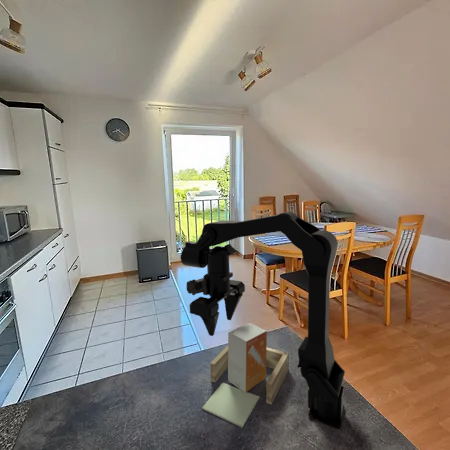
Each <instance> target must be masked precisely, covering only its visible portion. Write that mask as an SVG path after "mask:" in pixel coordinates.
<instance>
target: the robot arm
mask: <svg viewBox="0 0 450 450" xmlns="http://www.w3.org/2000/svg"><path fill="white" fill-rule="evenodd" d="M277 232H280V233H282V234H283V235H284V236H285V237H287V239H288V240H289V241H290V243H291V244H292V245H294V246H295V248H297V249H298V250H300V251H301V254H302V261H303V265H304V268H305V270H306V273H307V277H308V284H307V286H308V291H307V292H308V293H307V295H308V296H307V297H308V298H307V299H308V300H307V304H308V306H307V336H304V338H303V340H302V342H301V343H300V345H299V347H298V349H297V353H298V354H297V355H298V364H297V365H296V366H297V369H298V368H299V371H300V374H301V377H303V378H304V379H305V381H306V383H307V387H308V390H307V408H308V409H309V410H308V414H307V415H308V416H307V417H308V418H310V419H311V420H314V421H316V422H319V423H321V424H324V425H328V426H330V427H333V428H335V429H337V430H341V429H342V425H343V419H344V412H345V406H344V391H345V390H344V388H345V387H344V385H343V381H344V376H345V373H346V371H345V369H344V368H343V367H341V365H340V364H339V363H338V362H337V360H336V359H335V355H334V348H333V344H332V342H331V340H330V335H329V331H330V329H329V328H330V327H329V326H330V293H331V292H330V290H331V289H330V288H331V287H330V286H331V284H330V281H331V278H330V277H331V273H332V269H333V265H334V263H335V262H334V261H335V259H336V254H337V250H338V243H339V242H338V239H337V237H336V236H335V235H334V233H332V232H331V231H328V230H326V229H320V228H319V227H317V226H316V225H314V224H312V223H311V222H308V221H306V220H305V219H303V218H301V217H300V216H298V215H297V214H295V213H294V212H292V211H285V212H282V213H279V214H275V215H268V216H264V217H263V216H262V217H257V218H252V219H246V220H241V221H239V220H237V221H236V220H218V221H214V222H213V221H212V222H209V223H206V224H204V225H203V228H202V230H201V234H200V236H199V238H198V239H197V241H193V240H189V241H185V245H184V247H183V249H182V251H181V254H180V261H181V263H182V265H184V266H185V267H192V268H198V269H204V268H206V269H207V273H205V274H204V275H203V277H202V278H198V279H195V278H194V279H192V280H189V281H187V282H186V288H185V289H186V291H187V293H188V294H189V295H192V296H195V295H198V294H203V295H204V296H209V297H204V296H199V297H197V298H196V299H194V300H192V301H191V302H190V303H189V314H192V315H195V316H199V317H200V318H201V320H202V322H203V324H204V326H205V328H206V331H207V333H208V336H211V337H214V335H215V332H216V327H217V323H218V320H219V316H220V312H219V309H220V305H219V304H220V302H221V301H223V300H224V307H225V316H226V319H227V320H228V321H232V318H234V317H233V316H234V314H235V312H236V309H237V307H238V306H239V303H240V300H241V298H242V297H243V294H244V293H245V292H246V290H245V289H246V288H245V287H246V285H245V284H244V282H243V281H241V280H234V279H231V278H232V277H233V276H234V272H231V271H230V256H232V255H234V254H236V253H237V252H238V251H237V249H235V247H233V246H232V244H231V243H228V244H226V245H225V244H224V243H227V242H229V241H232V240H236V239H238V238H245V237H251V236H257V235H265V234H266V235H267V234H271V233H277ZM221 244H224V246H219V245H221ZM212 247H213V248H212Z"/></svg>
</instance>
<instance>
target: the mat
mask: <svg viewBox="0 0 450 450" xmlns="http://www.w3.org/2000/svg"><path fill="white" fill-rule="evenodd" d="M259 400H260V396H259V395H256V394H253V393H251V392H249V391H247V392H246V393H245V392H244V391H242V390H241V389H239V388H238V387H236V386H234V385H233V386H232V385H230V384H227V383H225V382H222V383H221V384H220V385H219V387H218V388H216V390H215V391H214V393H213V394H212V395H211V396H210V398H209V399H208V400H207V401H206V402H205V404H204V405H203V406H202V407H201V408H202V410H203V411H204V412H205V411H206V412H207V413H210V414H212V415H213V416H216V417H218V418H221V419H223V420H225V421H226V422H230V423H232V424H233V425H235V426H238V427H240V428H243V427H244V426H245V424H246V422H247V420H248V419H249V417H250V415H251V414H252V412H253V410H254V408H255V406H256V405H257V403H258V401H259Z"/></svg>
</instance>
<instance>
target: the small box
mask: <svg viewBox="0 0 450 450" xmlns="http://www.w3.org/2000/svg"><path fill="white" fill-rule="evenodd" d="M267 331H268V330H266V329H263V328H261V327H260V326H257V325H256V324H252V323H250V322H248V323H246V324H244V325H242V326H239V327H237V328H235V329H233V330H232V331H229V332H228V333H227V336H228V337H227V338H228V339H227V340H228V341H227V343H228V344H227V345H228V368H227V381H228V382H229V383H230V384H232V385H233V386H234V387H236V388H238V389H241V390H242V391H244V392H245V393H246V392H249V391H250V390H251V389H252V388H254V387H255V386H257V385H258V384H260V383H261V382H262V381H264V380H265V379H266V377H267V367H266V347H268V346H267V344H268V343H267V340H268V338H267V337H268V332H267Z"/></svg>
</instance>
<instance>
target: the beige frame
mask: <svg viewBox="0 0 450 450" xmlns="http://www.w3.org/2000/svg"><path fill="white" fill-rule="evenodd" d="M289 355H290V353H289V352H286V351H281V350H278V349H274V348H271V347H268V346H266V368H270V369H272V370H273V371H272V373H271V374H270V376H269V378H268V379H267V381H266V385H265V386H266V396H265V397H266V404H269V405H271V406H272V405H273V403H274V400H275V399H276V397H277V394H278V393H279V390H281V389H280V388H281V386H282V385H283V382H284V381H285V379H286V377H287V375H288V373H289V372H290V371H289V366H290V365H289V364H290V362H289ZM209 367H210V381H211V382H213V383H217V381H218V380H219V379H220V377H221V376H222V375H223V374H224V372H225V371H227V370H228V344H227V345H226V346H225V347H224V348H223V349H222V350H221V352H219V353H218V355H216V357H215V358H214V359H212V361H211V362H210V366H209Z"/></svg>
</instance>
